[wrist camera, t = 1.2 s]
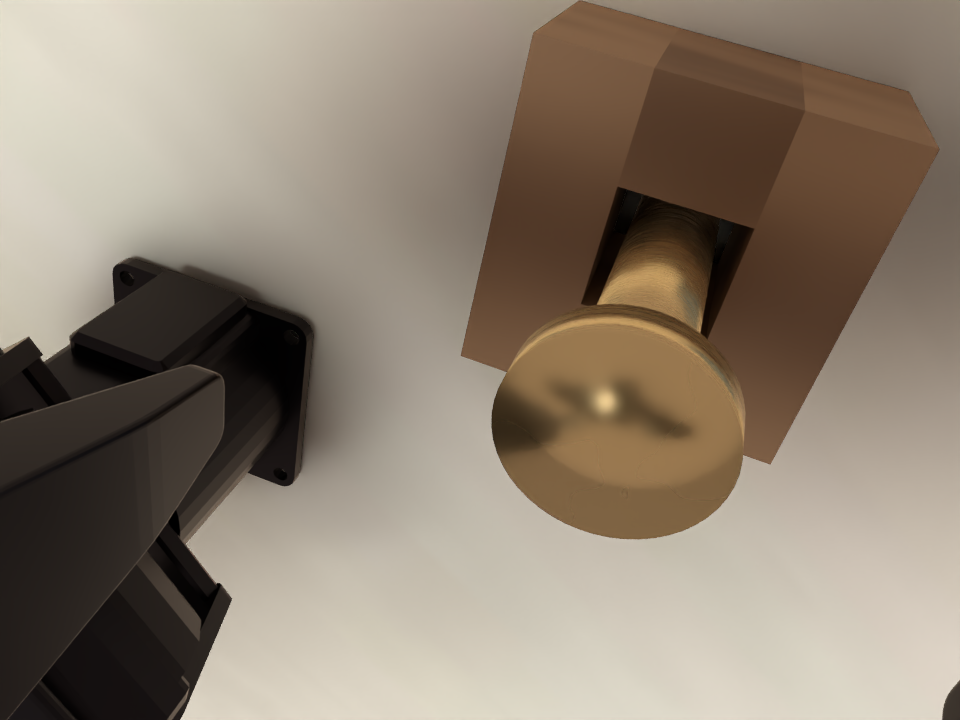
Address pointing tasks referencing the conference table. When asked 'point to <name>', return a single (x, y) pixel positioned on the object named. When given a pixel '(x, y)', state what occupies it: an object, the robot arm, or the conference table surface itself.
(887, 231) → the pin block
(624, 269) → the brass pin
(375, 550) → the conference table surface
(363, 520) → the conference table surface
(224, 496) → the robot arm
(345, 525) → the conference table surface
